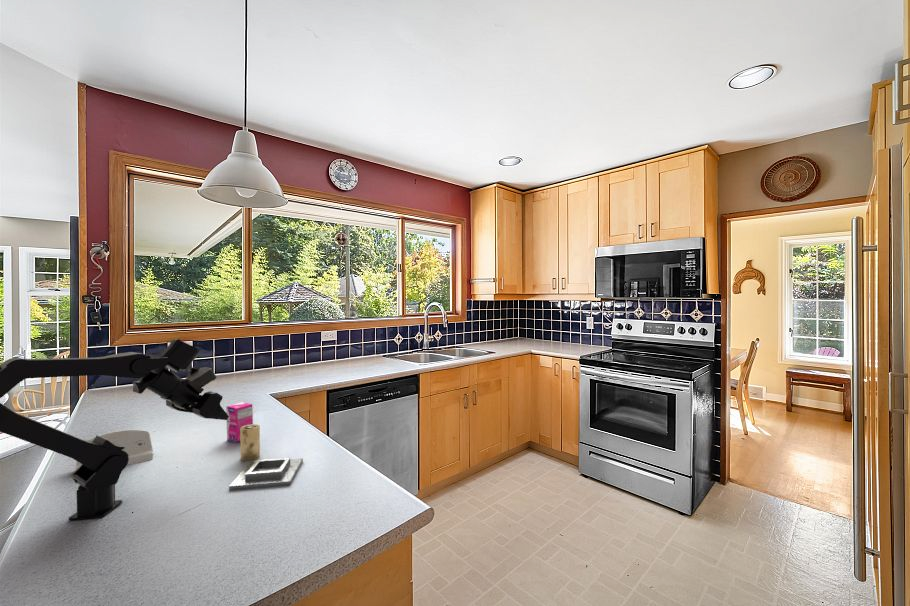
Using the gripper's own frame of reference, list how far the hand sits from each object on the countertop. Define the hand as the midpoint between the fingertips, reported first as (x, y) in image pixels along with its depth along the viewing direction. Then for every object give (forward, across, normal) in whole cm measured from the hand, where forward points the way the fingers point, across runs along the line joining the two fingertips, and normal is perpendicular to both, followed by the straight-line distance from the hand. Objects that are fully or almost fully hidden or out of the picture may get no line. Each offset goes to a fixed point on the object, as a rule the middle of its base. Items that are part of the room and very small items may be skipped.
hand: (218, 415), depth 107 cm
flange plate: (+12, -17, +8) cm, 22 cm away
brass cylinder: (+16, -2, +5) cm, 16 cm away
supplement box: (+21, +16, 0) cm, 27 cm away
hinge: (0, +29, +20) cm, 35 cm away
